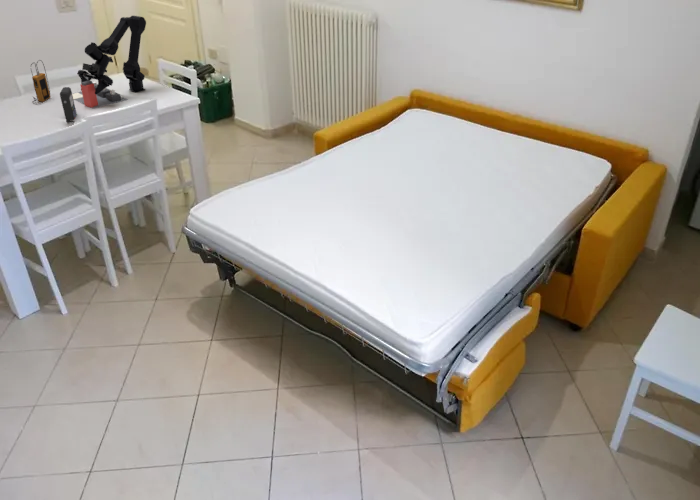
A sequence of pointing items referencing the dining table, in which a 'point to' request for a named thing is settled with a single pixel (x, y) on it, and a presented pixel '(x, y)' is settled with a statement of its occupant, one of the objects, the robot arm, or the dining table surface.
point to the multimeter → (41, 86)
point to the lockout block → (89, 94)
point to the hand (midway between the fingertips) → (88, 92)
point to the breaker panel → (101, 97)
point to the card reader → (68, 104)
